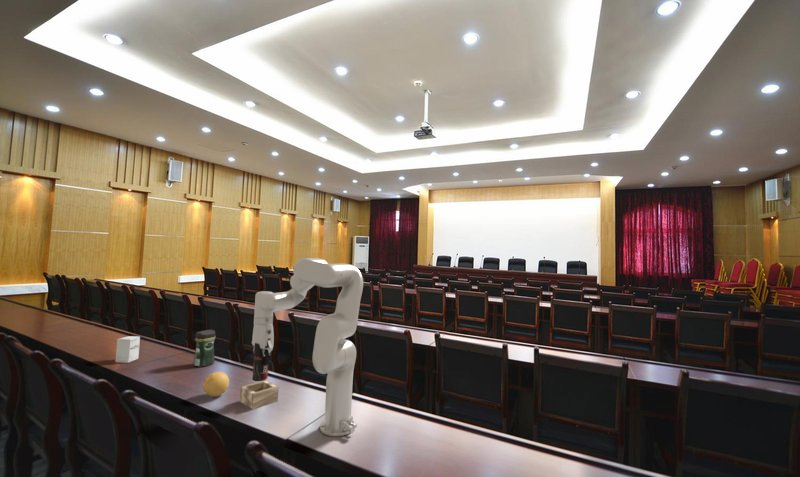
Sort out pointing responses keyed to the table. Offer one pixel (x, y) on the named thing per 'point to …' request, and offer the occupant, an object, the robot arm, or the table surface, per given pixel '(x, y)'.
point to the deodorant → (259, 365)
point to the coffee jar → (204, 348)
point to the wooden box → (259, 394)
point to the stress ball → (216, 384)
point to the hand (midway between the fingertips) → (260, 362)
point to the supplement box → (127, 349)
